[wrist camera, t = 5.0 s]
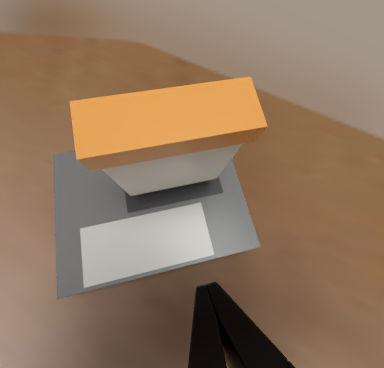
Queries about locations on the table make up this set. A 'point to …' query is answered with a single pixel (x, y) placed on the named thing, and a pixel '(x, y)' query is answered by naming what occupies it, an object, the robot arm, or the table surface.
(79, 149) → the handle
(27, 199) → the table surface
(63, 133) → the table surface
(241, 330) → the robot arm
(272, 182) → the table surface
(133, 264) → the box
